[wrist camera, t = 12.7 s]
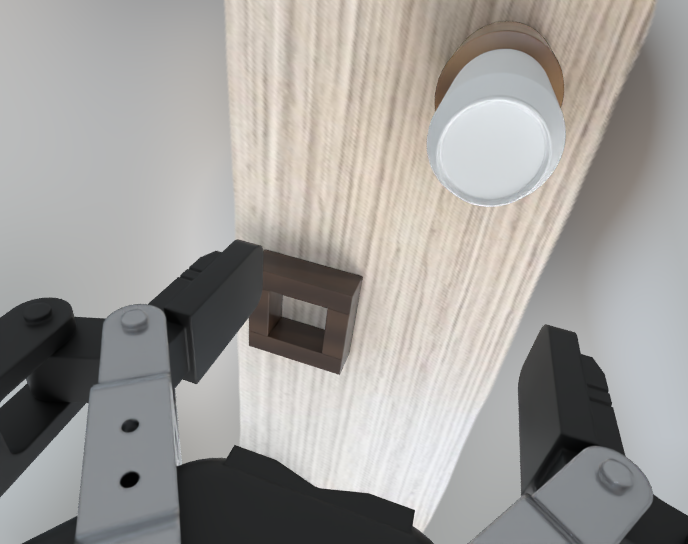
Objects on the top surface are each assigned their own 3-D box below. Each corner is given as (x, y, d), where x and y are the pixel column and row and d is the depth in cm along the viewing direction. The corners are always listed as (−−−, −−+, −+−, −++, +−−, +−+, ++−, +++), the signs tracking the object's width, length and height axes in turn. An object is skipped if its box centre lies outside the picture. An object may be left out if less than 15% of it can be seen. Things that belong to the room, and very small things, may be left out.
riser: (482, 1, 34) (475, 5, 27) (577, 51, 34) (593, 68, 27) (430, 101, 38) (413, 125, 32) (513, 146, 38) (513, 179, 32)
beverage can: (572, 84, 28) (605, 139, 18) (502, 163, 32) (499, 243, 22) (492, 24, 28) (481, 47, 18) (430, 111, 31) (394, 169, 22)
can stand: (264, 249, 52) (248, 266, 49) (362, 276, 50) (352, 296, 47) (263, 325, 59) (248, 345, 56) (349, 352, 57) (339, 375, 53)
